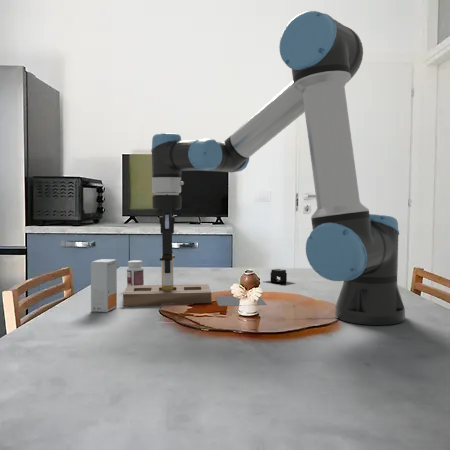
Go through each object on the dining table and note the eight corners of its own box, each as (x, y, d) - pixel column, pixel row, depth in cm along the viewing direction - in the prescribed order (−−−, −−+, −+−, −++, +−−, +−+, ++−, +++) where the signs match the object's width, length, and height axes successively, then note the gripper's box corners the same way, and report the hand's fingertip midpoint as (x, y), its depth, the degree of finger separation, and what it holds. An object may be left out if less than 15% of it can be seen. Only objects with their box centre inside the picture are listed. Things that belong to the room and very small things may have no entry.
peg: (173, 301, 138) (172, 255, 137) (161, 301, 137) (161, 255, 137) (173, 298, 141) (173, 253, 140) (162, 299, 140) (161, 254, 139)
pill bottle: (145, 288, 156) (145, 260, 155) (141, 291, 151) (141, 262, 151) (129, 288, 156) (129, 259, 156) (125, 291, 152) (124, 262, 151)
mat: (266, 306, 131) (266, 304, 131) (218, 307, 130) (218, 305, 130) (258, 296, 143) (258, 295, 143) (214, 297, 142) (214, 296, 142)
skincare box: (107, 312, 125) (106, 262, 124) (90, 312, 125) (89, 261, 125) (117, 307, 131) (117, 259, 130) (101, 306, 131) (100, 258, 131)
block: (211, 304, 134) (211, 292, 134) (123, 306, 132) (123, 294, 132) (208, 294, 146) (208, 284, 146) (127, 296, 144) (127, 285, 144)
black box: (301, 285, 164) (301, 270, 164) (286, 288, 159) (286, 273, 159) (270, 280, 173) (270, 266, 173) (255, 283, 168) (255, 269, 167)
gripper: (182, 194, 130) (182, 289, 131) (181, 194, 145) (181, 278, 147) (151, 194, 129) (152, 289, 130) (153, 194, 145) (154, 279, 146)
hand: (167, 283), depth 139 cm, fingers closed on peg, 3 cm apart
